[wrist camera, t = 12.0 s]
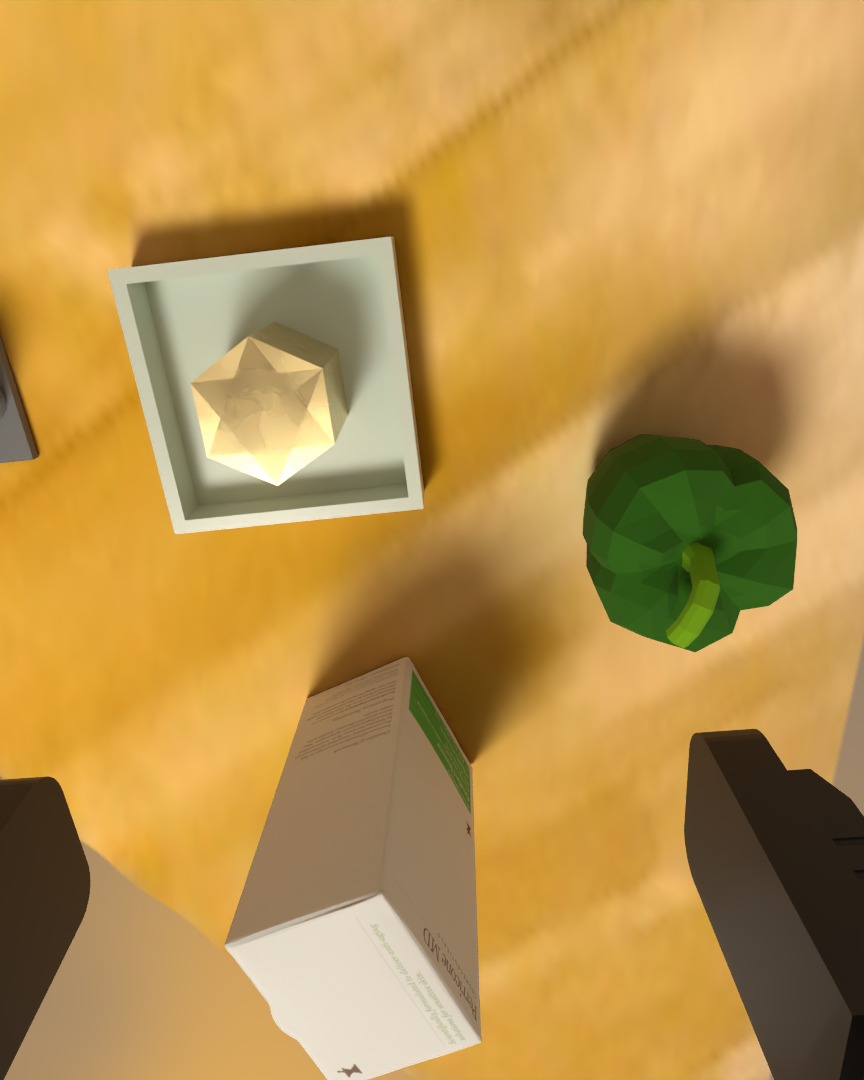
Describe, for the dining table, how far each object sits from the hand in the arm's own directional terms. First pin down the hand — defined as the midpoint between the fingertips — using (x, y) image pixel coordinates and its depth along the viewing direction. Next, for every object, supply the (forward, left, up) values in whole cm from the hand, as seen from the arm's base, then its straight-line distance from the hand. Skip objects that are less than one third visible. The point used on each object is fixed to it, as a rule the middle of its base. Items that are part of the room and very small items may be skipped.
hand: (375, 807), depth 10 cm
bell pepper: (+6, +10, -26) cm, 29 cm away
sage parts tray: (-1, -6, -26) cm, 27 cm away
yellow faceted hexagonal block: (-1, -6, -26) cm, 26 cm away
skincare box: (+18, -4, -26) cm, 32 cm away
